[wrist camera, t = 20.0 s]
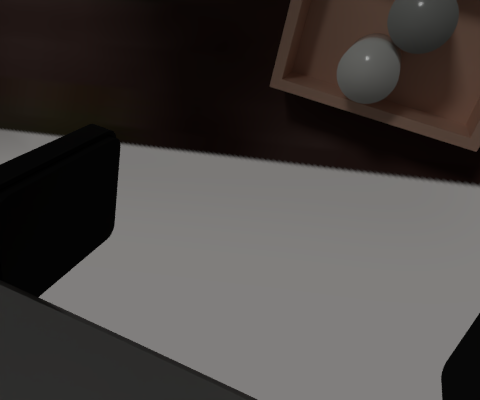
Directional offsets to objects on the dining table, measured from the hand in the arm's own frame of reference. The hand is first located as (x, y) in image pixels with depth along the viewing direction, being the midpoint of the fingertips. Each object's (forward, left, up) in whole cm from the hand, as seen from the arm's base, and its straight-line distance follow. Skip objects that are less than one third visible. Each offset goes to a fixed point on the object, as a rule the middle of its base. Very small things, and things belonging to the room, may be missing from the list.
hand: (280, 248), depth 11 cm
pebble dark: (-4, +2, -28) cm, 28 cm away
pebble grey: (0, 0, -28) cm, 28 cm away
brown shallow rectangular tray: (-2, +1, -28) cm, 28 cm away
